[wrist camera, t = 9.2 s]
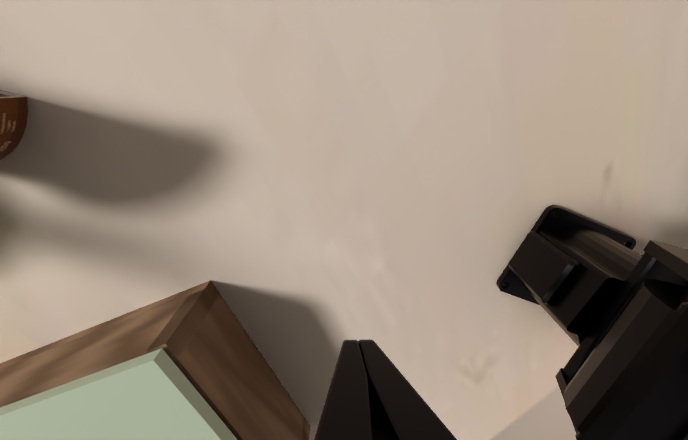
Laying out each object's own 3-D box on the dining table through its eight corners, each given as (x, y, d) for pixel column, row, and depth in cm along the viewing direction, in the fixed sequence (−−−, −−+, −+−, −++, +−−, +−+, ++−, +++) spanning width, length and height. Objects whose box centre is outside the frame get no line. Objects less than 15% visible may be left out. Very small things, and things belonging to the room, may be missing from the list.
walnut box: (210, 280, 22) (165, 343, 17) (309, 425, 28) (300, 510, 22) (-6, 365, 25) (-105, 443, 20) (122, 481, 31) (73, 568, 25)
